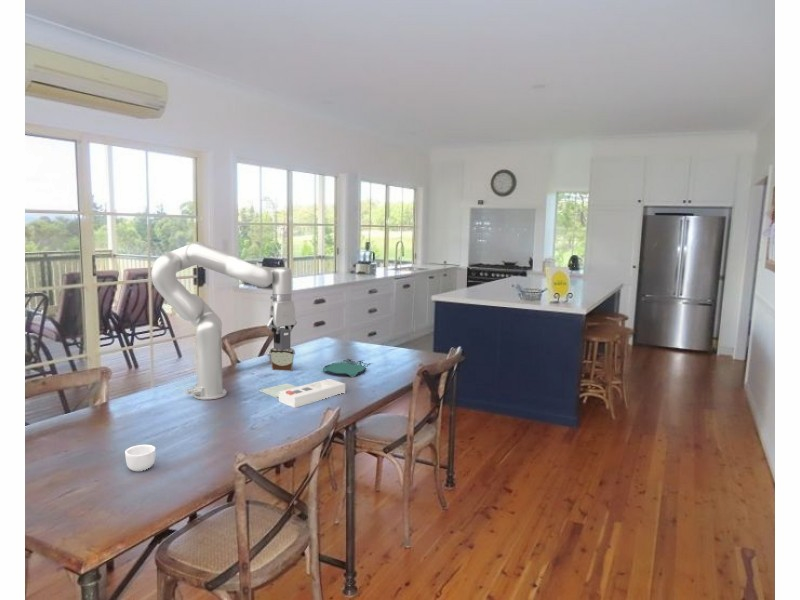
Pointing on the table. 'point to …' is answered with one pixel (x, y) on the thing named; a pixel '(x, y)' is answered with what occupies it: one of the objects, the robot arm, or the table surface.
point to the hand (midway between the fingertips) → (282, 341)
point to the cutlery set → (344, 368)
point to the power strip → (311, 392)
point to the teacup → (140, 457)
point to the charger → (283, 339)
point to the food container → (282, 359)
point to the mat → (276, 389)
